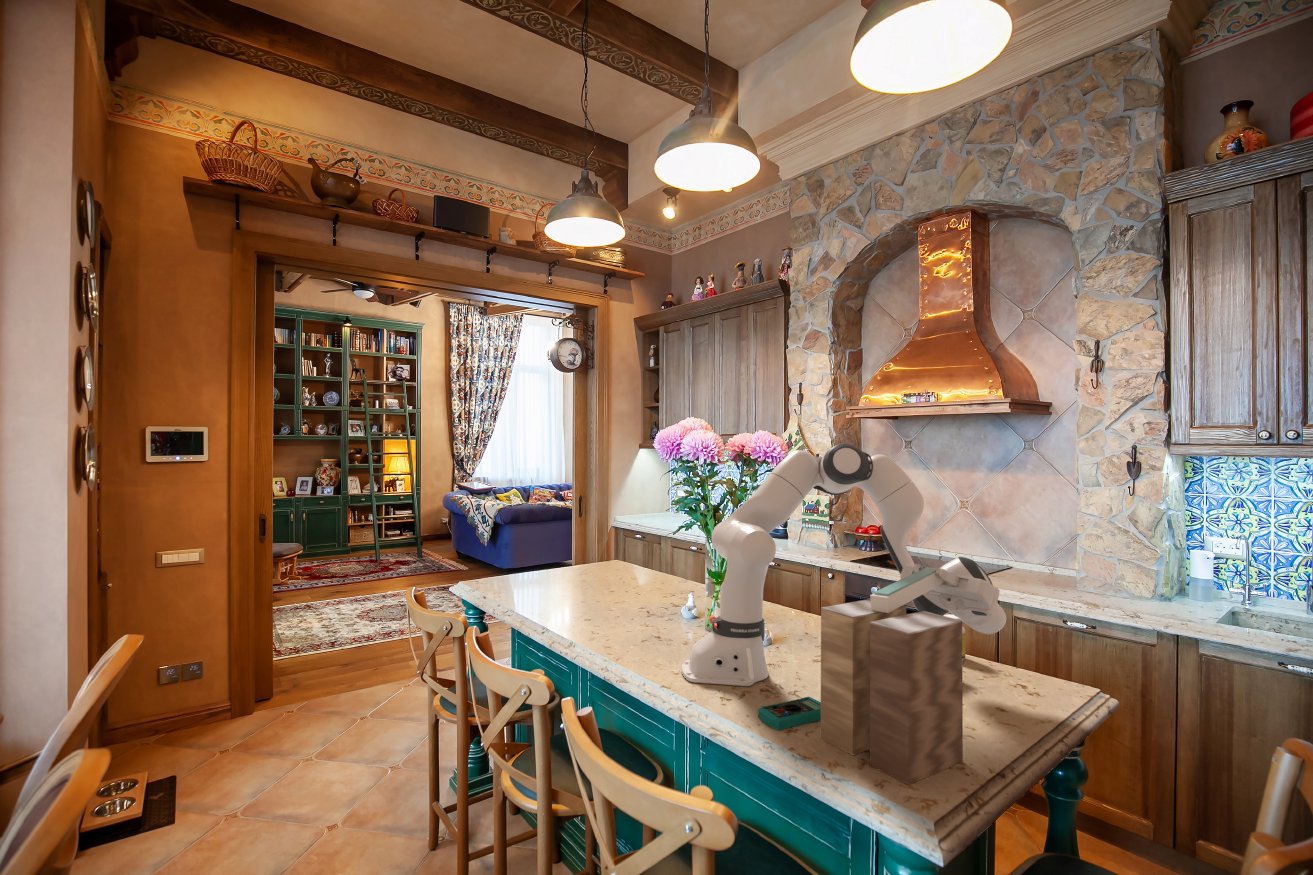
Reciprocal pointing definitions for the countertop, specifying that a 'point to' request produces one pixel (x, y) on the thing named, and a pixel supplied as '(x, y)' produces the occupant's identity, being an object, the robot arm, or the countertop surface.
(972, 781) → the countertop surface
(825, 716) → the oak post
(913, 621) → the walnut post
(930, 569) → the bar
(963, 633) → the pill bottle
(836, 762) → the countertop surface
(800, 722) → the digital multimeter
